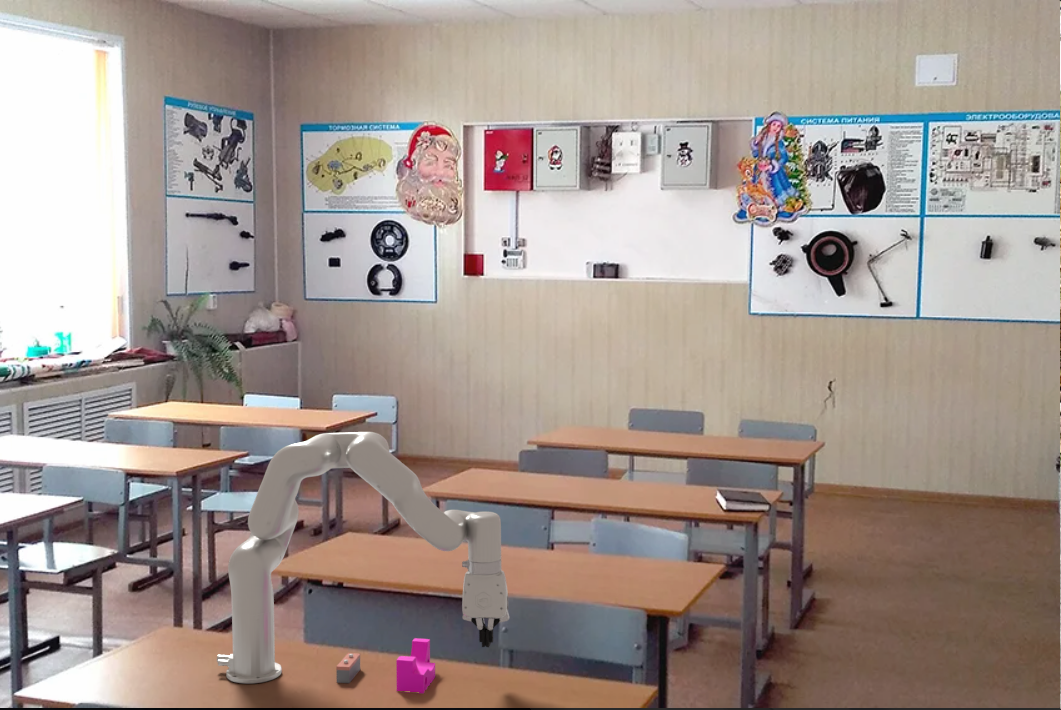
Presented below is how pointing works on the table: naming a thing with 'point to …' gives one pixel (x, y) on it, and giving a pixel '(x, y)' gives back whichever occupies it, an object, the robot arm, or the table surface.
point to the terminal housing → (348, 668)
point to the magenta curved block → (415, 668)
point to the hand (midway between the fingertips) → (486, 645)
